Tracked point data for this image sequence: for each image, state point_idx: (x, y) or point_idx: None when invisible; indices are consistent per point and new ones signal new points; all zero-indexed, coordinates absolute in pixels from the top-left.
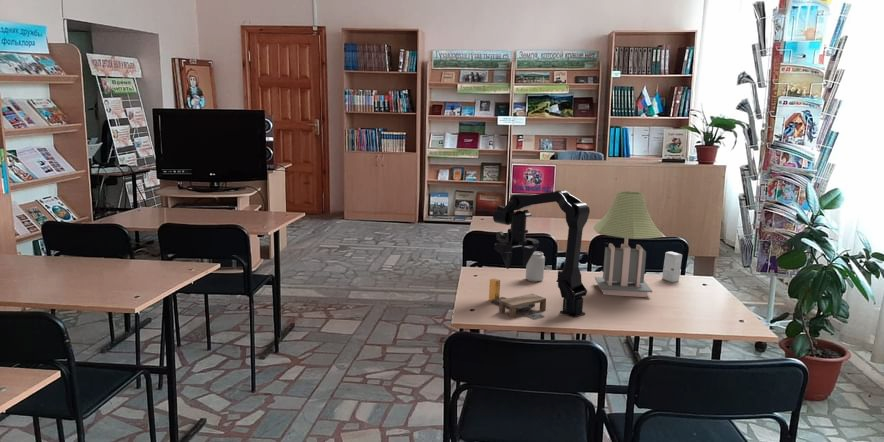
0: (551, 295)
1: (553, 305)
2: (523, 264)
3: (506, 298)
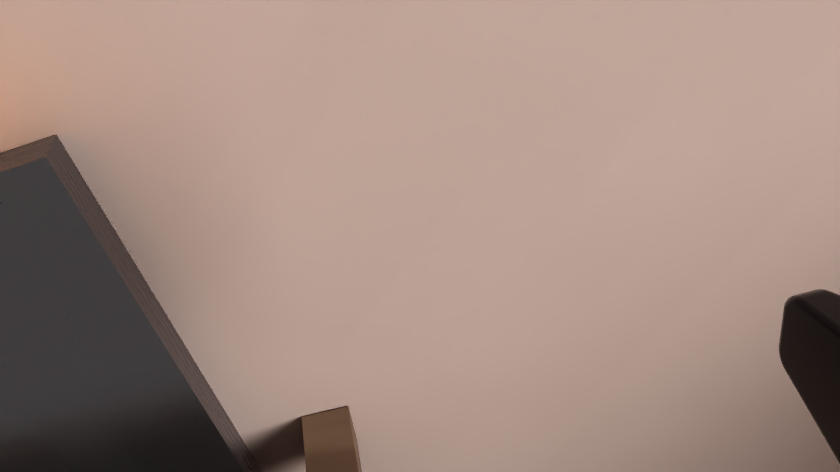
0: (834, 154)
1: (562, 441)
2: (804, 310)
3: (81, 245)
